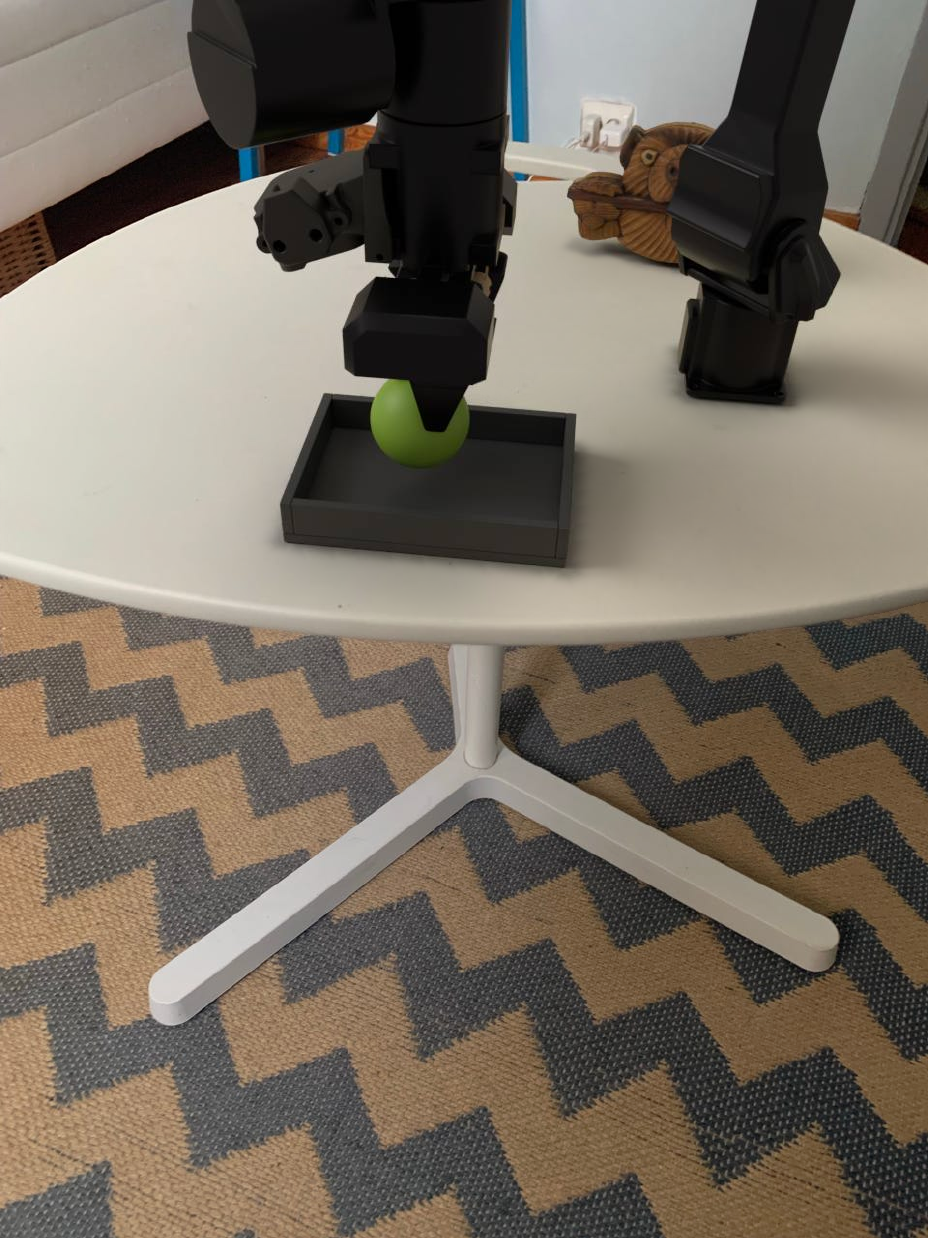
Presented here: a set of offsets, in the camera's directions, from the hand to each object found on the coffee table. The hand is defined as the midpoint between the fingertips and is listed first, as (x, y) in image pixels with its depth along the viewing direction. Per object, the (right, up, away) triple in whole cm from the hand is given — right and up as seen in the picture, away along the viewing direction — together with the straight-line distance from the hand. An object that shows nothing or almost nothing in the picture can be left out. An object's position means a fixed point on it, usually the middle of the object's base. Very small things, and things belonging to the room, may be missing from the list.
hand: (439, 412), depth 56 cm
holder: (0, -4, +4) cm, 5 cm away
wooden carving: (+17, +18, +28) cm, 37 cm away
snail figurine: (-1, -2, +3) cm, 4 cm away
